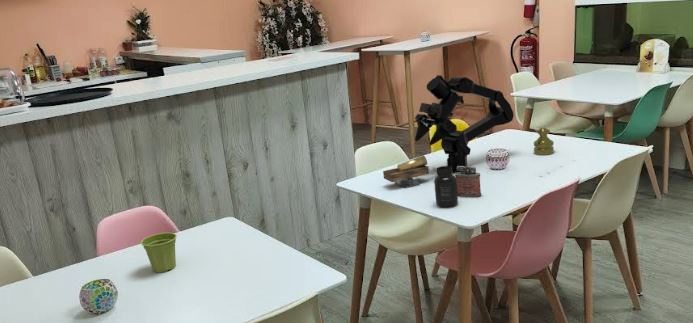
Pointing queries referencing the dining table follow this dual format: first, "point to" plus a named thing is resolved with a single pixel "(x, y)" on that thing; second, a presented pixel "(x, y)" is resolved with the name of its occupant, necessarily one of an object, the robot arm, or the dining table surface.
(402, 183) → the stand
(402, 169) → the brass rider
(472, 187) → the lighter
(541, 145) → the olive tiered piece
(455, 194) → the supplement bottle
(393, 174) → the brown wooden tray
